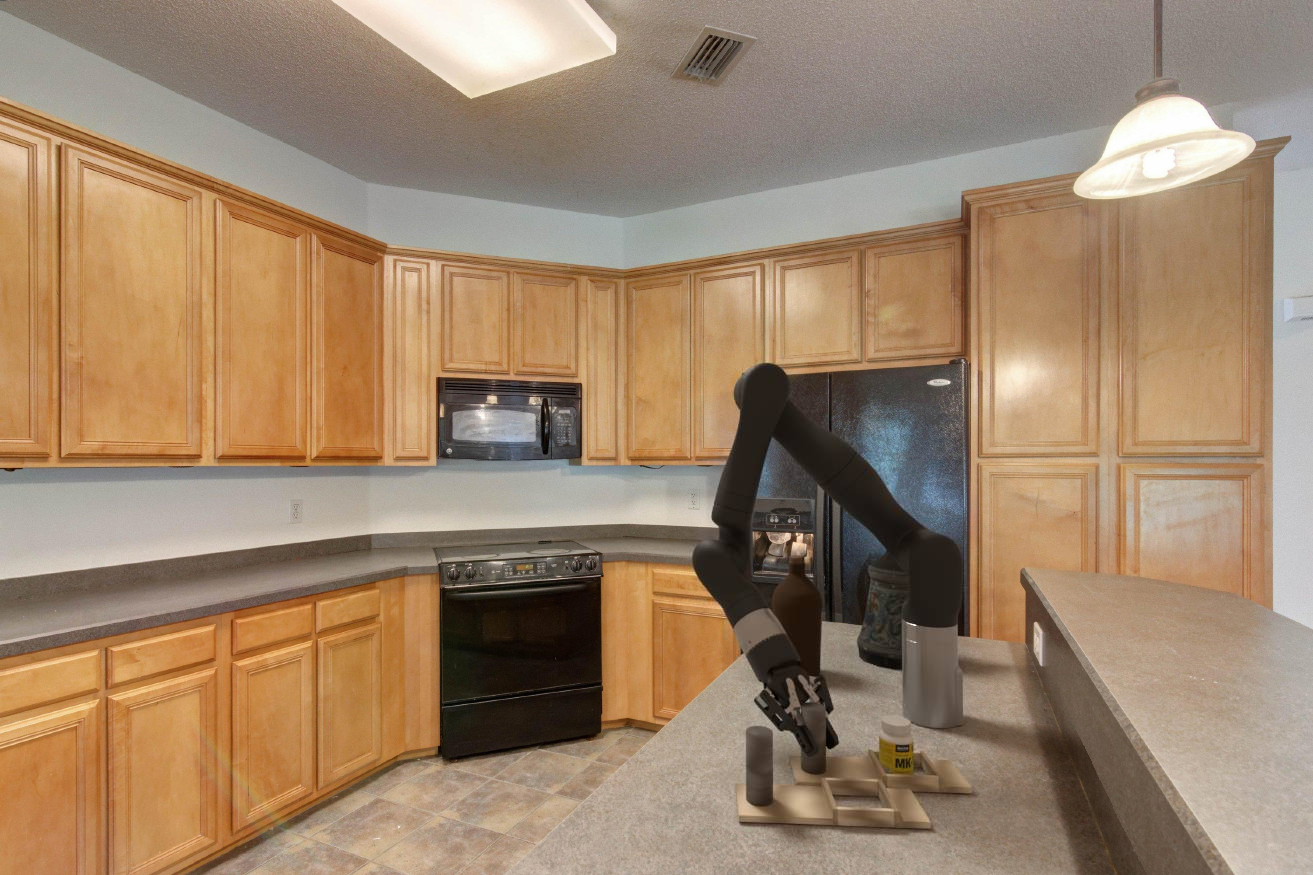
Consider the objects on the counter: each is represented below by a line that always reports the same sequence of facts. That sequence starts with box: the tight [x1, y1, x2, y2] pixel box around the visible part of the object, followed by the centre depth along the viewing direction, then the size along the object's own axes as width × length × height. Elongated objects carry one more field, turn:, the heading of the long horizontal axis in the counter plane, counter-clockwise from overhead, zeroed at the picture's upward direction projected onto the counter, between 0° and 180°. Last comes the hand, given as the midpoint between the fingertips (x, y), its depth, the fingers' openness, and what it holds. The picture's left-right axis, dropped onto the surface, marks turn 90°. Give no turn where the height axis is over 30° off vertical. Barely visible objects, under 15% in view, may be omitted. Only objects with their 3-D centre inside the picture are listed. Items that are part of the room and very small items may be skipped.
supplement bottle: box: [878, 714, 915, 775], centre depth 95 cm, size 5×5×8 cm
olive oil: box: [771, 554, 824, 677], centre depth 139 cm, size 11×11×25 cm
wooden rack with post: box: [788, 701, 973, 794], centre depth 95 cm, size 24×8×10 cm, turn 86°
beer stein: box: [856, 550, 909, 671], centre depth 150 cm, size 16×19×25 cm
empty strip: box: [734, 725, 932, 829], centre depth 86 cm, size 24×8×10 cm, turn 86°
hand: (824, 749), depth 94 cm, fingers closed on wooden rack with post, 3 cm apart
